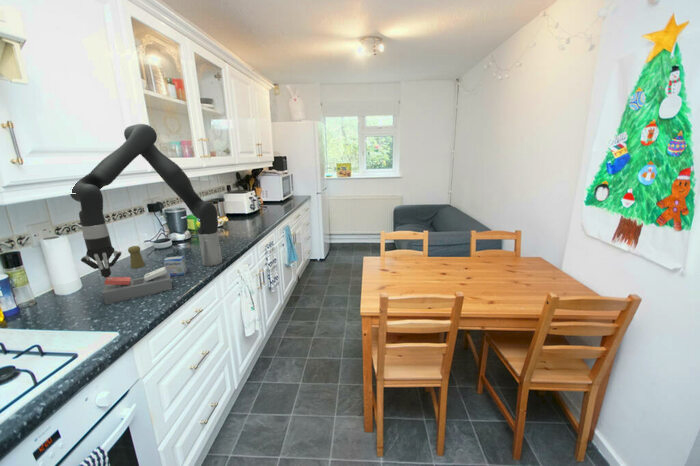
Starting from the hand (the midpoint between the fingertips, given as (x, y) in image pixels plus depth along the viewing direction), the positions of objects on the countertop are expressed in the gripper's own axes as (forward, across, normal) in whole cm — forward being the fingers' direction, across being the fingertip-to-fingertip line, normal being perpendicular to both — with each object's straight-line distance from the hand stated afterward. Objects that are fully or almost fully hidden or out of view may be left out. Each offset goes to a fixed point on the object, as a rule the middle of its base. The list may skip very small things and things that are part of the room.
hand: (107, 276), depth 118 cm
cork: (+10, -7, -37) cm, 39 cm away
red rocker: (+3, -3, 0) cm, 4 cm away
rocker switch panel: (+10, -10, 0) cm, 14 cm away
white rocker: (+2, -16, 0) cm, 16 cm away
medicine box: (+10, -24, -14) cm, 29 cm away
